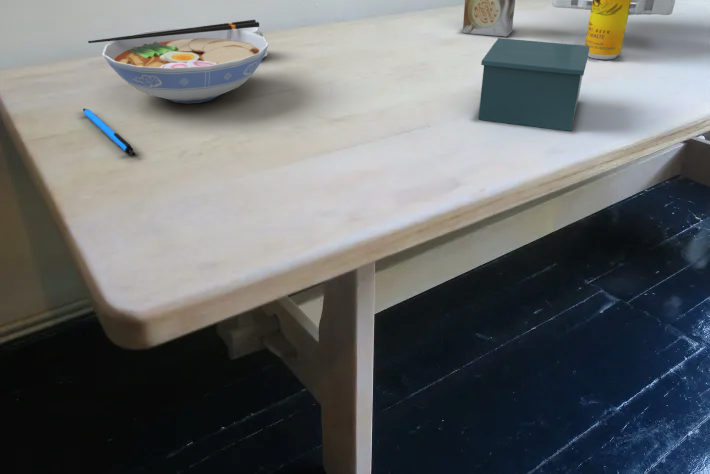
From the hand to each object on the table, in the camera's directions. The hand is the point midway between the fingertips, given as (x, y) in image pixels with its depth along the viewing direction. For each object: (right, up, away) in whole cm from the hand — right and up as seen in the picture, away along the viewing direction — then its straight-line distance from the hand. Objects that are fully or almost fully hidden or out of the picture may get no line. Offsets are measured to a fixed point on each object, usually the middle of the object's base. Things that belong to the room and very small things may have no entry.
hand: (610, 6), depth 111 cm
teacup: (-63, -8, +4) cm, 64 cm away
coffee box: (-17, +2, +21) cm, 27 cm away
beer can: (0, -7, +5) cm, 9 cm away
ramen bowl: (-67, -18, -14) cm, 70 cm away
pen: (-74, -26, -27) cm, 83 cm away
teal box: (-19, -21, -19) cm, 34 cm away
